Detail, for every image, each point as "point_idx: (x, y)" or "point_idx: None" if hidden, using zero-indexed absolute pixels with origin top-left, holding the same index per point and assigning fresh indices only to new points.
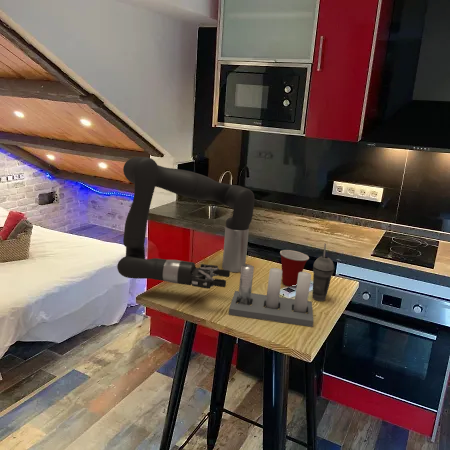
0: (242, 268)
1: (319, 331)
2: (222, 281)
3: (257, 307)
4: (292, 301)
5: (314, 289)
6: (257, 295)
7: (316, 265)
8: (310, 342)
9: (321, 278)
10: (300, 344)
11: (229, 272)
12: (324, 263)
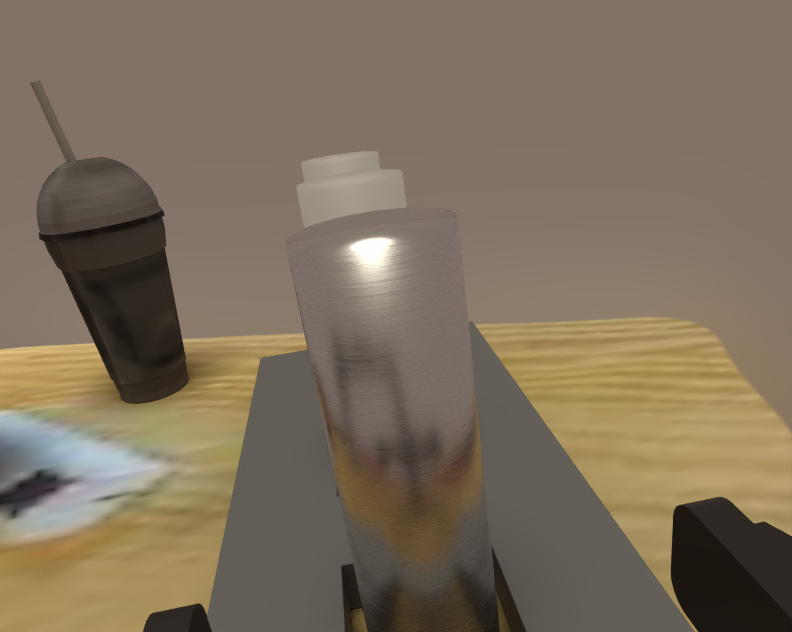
0: (441, 247)
1: (496, 332)
2: (755, 545)
3: (492, 495)
4: (289, 398)
5: (155, 345)
6: (252, 558)
7: (117, 206)
8: (614, 330)
9: (162, 261)
10: (665, 341)
11: (205, 614)
12: (136, 175)
